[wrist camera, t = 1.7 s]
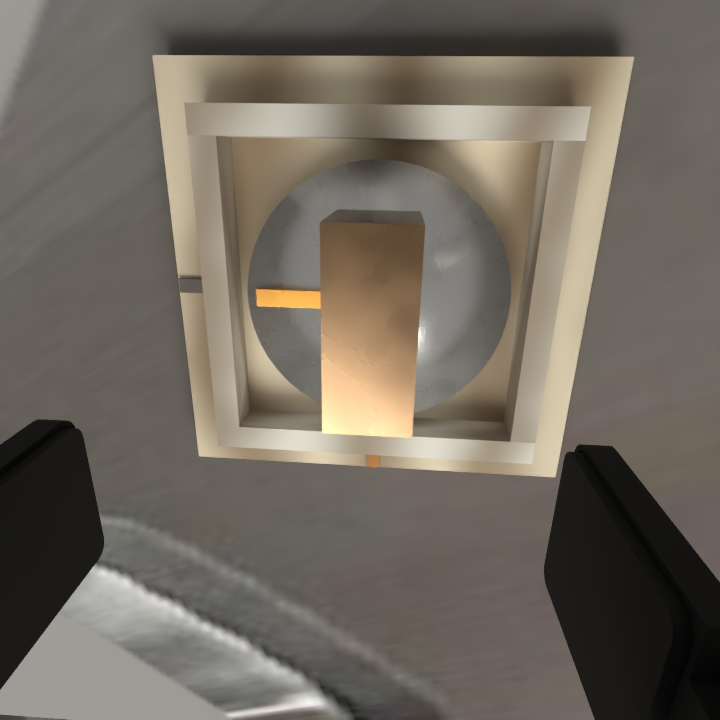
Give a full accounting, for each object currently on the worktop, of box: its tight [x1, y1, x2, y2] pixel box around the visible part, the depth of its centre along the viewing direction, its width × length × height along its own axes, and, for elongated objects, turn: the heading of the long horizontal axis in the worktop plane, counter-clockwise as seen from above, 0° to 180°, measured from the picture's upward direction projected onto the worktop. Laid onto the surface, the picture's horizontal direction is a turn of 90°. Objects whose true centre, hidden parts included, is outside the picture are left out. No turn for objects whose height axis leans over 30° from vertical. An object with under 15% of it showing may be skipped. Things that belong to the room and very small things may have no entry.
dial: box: [248, 159, 511, 438], centre depth 21 cm, size 12×12×7 cm
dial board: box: [152, 55, 634, 477], centre depth 24 cm, size 20×20×4 cm
